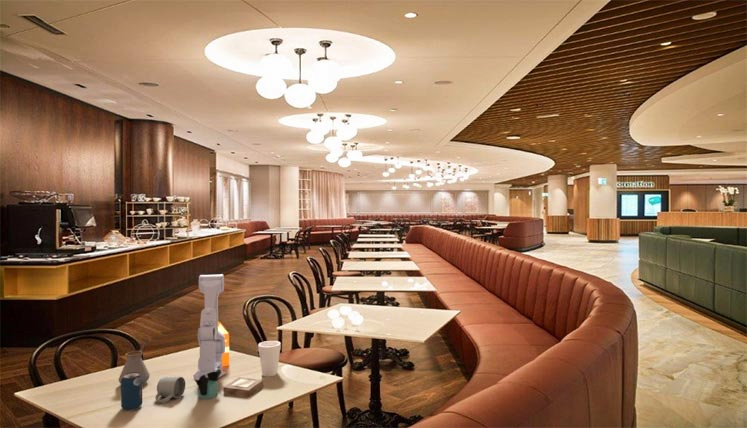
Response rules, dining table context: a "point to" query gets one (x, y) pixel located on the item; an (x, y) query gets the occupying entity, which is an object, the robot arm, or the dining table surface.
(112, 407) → the dining table surface
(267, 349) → the foam cup
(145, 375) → the coffee pot
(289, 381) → the dining table surface
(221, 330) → the orange juice
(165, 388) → the ceramic mug
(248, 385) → the walnut base
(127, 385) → the soda can
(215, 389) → the teal cube
